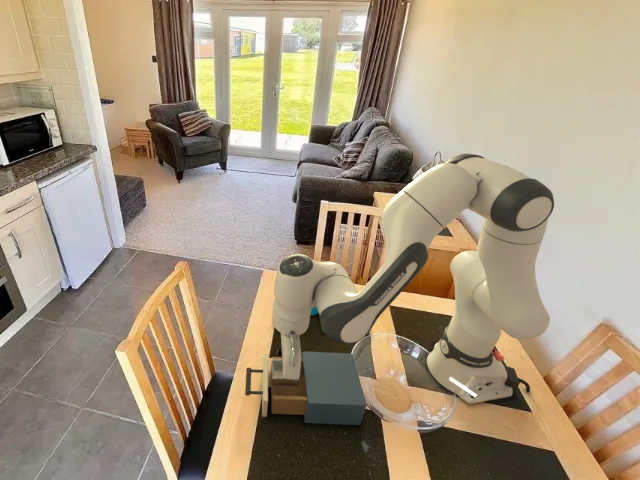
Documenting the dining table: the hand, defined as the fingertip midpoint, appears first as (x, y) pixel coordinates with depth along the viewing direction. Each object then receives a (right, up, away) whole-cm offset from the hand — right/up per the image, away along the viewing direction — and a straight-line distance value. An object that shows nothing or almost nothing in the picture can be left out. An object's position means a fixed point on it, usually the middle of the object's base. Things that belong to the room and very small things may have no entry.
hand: (286, 353), depth 81 cm
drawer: (-2, -15, +8) cm, 17 cm away
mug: (+10, -1, +36) cm, 38 cm away
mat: (+23, -4, +32) cm, 39 cm away
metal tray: (0, -8, +4) cm, 9 cm away
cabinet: (+12, -16, +8) cm, 22 cm away
